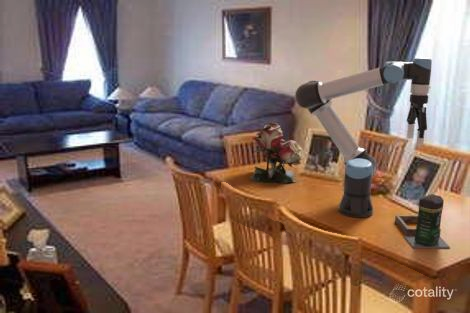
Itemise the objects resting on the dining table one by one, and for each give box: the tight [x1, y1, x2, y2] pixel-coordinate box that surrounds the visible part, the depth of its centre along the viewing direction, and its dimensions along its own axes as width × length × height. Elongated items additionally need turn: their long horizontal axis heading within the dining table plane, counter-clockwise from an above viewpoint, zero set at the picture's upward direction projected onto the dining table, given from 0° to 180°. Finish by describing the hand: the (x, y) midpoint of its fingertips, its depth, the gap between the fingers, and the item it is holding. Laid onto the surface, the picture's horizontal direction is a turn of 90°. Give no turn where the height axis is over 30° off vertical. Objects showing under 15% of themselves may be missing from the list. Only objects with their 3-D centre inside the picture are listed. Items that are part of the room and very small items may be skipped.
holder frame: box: [394, 214, 441, 237], centre depth 208 cm, size 13×15×3 cm
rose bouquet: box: [249, 122, 305, 184], centre depth 276 cm, size 26×29×30 cm
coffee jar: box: [415, 193, 445, 246], centre depth 192 cm, size 10×8×19 cm
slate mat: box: [403, 235, 451, 249], centre depth 195 cm, size 14×10×1 cm
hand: (414, 141), depth 223 cm, fingers open, 13 cm apart
